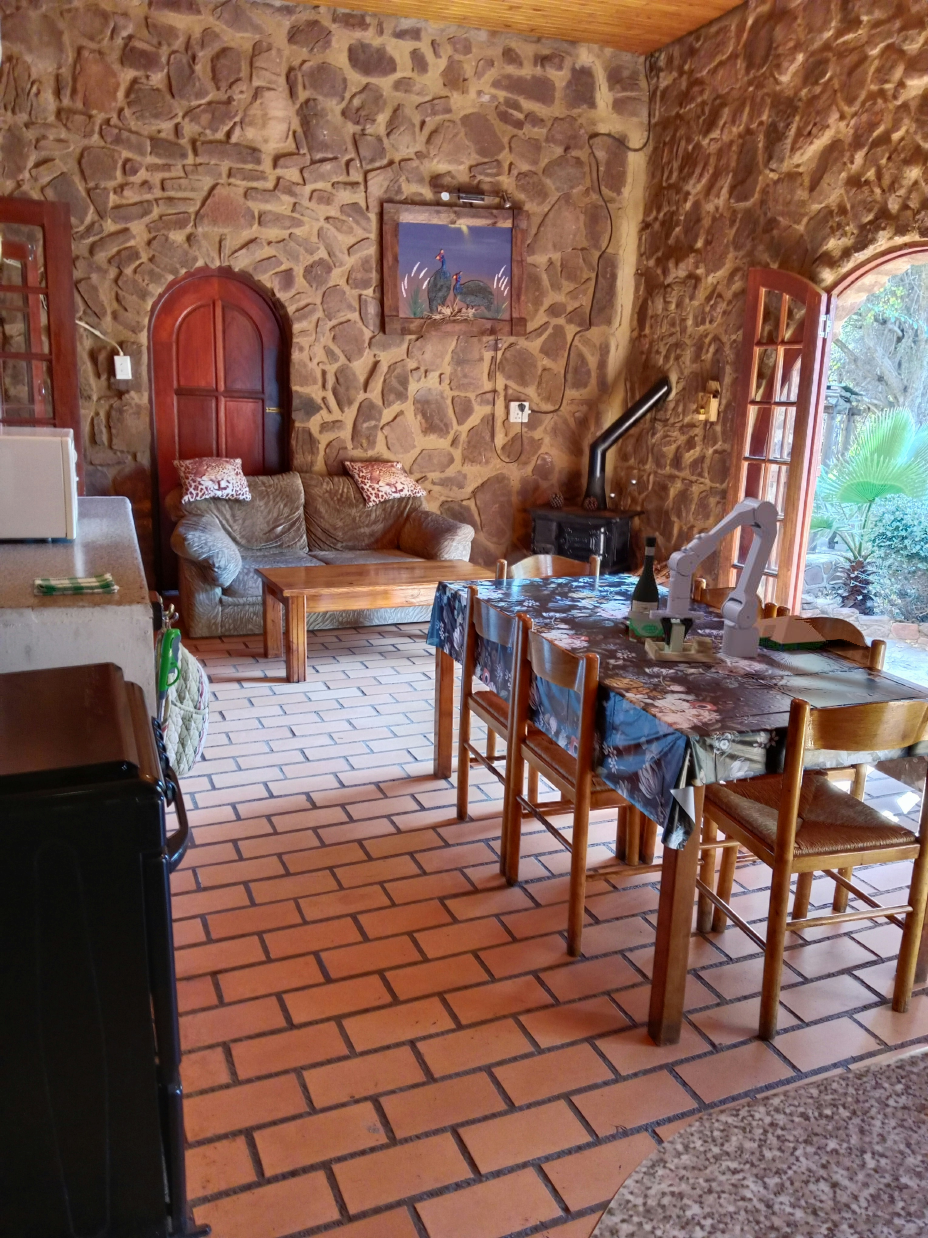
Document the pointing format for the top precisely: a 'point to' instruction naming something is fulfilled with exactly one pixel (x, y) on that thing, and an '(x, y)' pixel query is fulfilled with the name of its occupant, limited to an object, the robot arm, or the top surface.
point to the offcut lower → (696, 650)
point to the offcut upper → (703, 643)
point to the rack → (658, 653)
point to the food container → (644, 627)
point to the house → (787, 631)
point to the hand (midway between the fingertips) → (673, 644)
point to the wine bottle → (646, 582)
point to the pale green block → (676, 638)
